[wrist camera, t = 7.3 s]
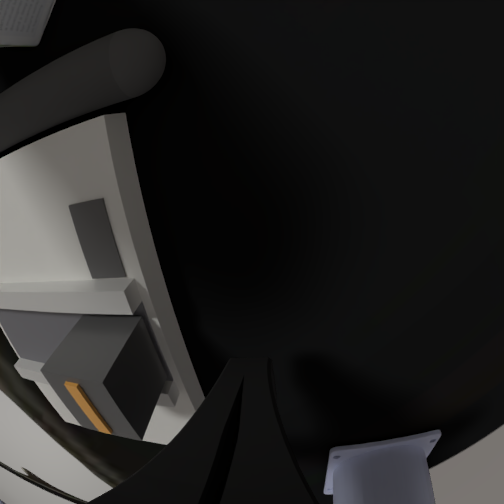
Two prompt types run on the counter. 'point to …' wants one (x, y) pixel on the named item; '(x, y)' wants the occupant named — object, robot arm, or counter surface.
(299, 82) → the counter surface
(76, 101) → the dark grey rounded bar
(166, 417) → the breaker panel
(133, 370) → the toggle
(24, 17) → the syrup box
